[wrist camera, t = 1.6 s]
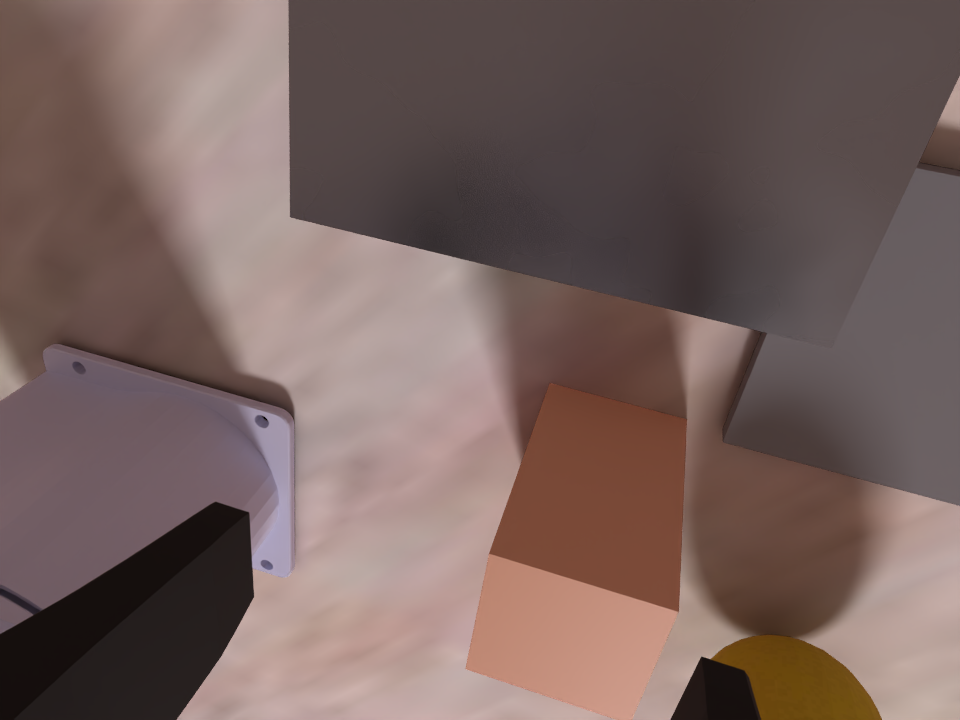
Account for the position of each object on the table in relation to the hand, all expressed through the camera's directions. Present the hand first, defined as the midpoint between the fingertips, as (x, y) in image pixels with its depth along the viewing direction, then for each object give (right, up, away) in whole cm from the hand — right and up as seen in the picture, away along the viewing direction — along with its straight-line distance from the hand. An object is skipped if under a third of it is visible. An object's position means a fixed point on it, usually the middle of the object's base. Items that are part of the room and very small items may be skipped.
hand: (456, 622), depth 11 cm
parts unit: (+4, +11, +5) cm, 12 cm away
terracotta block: (+4, +1, +11) cm, 11 cm away
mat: (+11, +4, +6) cm, 14 cm away
